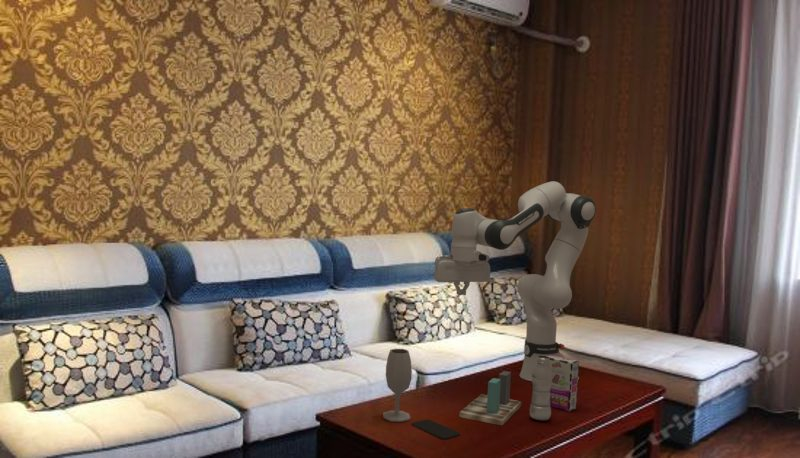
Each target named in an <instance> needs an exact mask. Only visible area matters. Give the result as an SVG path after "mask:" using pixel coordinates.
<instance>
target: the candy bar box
mask: <svg viewBox="0 0 800 458" xmlns="http://www.w3.org/2000/svg"><path fill="white" fill-rule="evenodd" d="M547 356H548V357H549V358H550V359H549V362H550V363H549V364H548V365H549V367H550V368H551V370H552V373H553V378H552V383H551V390H550V406H551V408H554V409H559V410H562V411H565V412H567V413H568V412H572V411H574V410H576V409H577V401H578V400H577V399H578V398H577V397H578V382H579V381H578V377H579V366H580V360H577V359H572V358H567V357H566V358H564V357H559V356H555V355H547Z"/></svg>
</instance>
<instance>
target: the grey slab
mask: <svg viewBox="0 0 800 458" xmlns="http://www.w3.org/2000/svg"><path fill="white" fill-rule="evenodd" d="M511 378H512V372H511V371H507V370H503V371H502V372H500V373H499V374H498V379H501V386H500V403H499V404H502V405H506V404H508V403H509V399H511V398H510V396H511Z"/></svg>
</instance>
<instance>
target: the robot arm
mask: <svg viewBox="0 0 800 458" xmlns="http://www.w3.org/2000/svg"><path fill="white" fill-rule="evenodd" d="M517 207H518V209H517V210H518V212H519V213H517V214H516V215H514V216H512V217H511V218H509V219H492V218H487V217H485V216H483V215H482V214H480V212H478V210H476V208H472V207H471V208H470V207H469V208H460V209H458V210H456V211H455V212H454V214H453V218H452V222H451V223H452V225H451V237H452V238H451V239H452V240H451V244H450V254H446V255H444V254H443V255H442V254H440V255H438V256H437V257H436V258H435V261H434V266H435V267H434V274H433V280H434V281H435V282H437V283H453V285H454V287H455V290H456V293H455V294H456V295H458V296H462V295H463V296H464V295H465V296H466V295H467V290H468V289H469V286H470V284H471V283H484V282H485V283H487V282H489V280H490V279H491V265H490V263H489V261H490V256H489V255H488V254H486V253H483V252H481V251H478V250H477V245H480V246H484V247H489V248H493V249H496V250H499V251H502V250H506V249H508V248H509V247H511V245H513V243H514V242H515V241H516V239H517V238H519V237H520V236H521V235H522V234H523V233H525V232H526V231H527V230H529V229H530V228H531V227H533V226H535V225H536V224H537V223H538V222H540V221H541V220H542V219H543V218H544V217H545V216H546V217H547V218H549V219H551V220H554V221H558V222H560V225H561V226H560V229H559V231H558V232H557V234H556V236H555V237H554V238H553V239H554V240H553V241H552V243H551V245H550V247H549V249H548V250H547V252H546V254H545V257H544V260H545V263H546V270H545V273H544V275H541V274H537V273H530V274H525V275H523V276H522V277H521V278H520V279H519V280H518V281H517V292H518V294H519V296H520V297H521V300H522V302H523V303H522V304H523V307H524V310H525V315H526V316H525V317H526V333H525V334H526V336H525V340H524V346H523V347H524V348H523V353H524V357H523V361H522V362H523V363H522V366H521V370H520V373H519V377H520V378H521V379H522V380H525V381H529V382H532V370H533V368H534V367H535V366H536V365H537V364H538V363H537V357H538V356H547V355H555V356H559V357H564V358H567V357H566V356H565V355H564V354H563V353H561V352H560V350H564V349H565V345H564V344H562V343H558V342H557V325H558V324H557V319H556V318H555V316H554V315H553V313H552V309H563V308H564V309H565V308H566V307H567V306H569V304H570V302H571V301H572V298H573V291H572V288H571V284H570V283H571V281H570V280H571V275H572V272H573V269H574V267H575V265H576V263H577V261H578V259H579V257H580V255H581V253H582V251H583V249H584V246H585V244H586V241H587V238H588V235H589V228H588V227H589V225H591V223H592V222H593V220H594V218H595V216H596V212H597V211H596V210H597V206H596V204H595V201H594V200H593V199H592V198H590V197H589V196H586V195H582V194H581V195H580V194H576V193H571V192H570V193H567V192H566V189H565V187H564V186H563V185H562V183H560V182H558V181H554V180H553V181H552V180H551V181H548V182H545V183H542V184H539V185H536V186H535V187H533V188H531V189H529V190H527V191H525V192H524V193H523V194H522V195H521V196H520V197H519V198H518V202H517ZM461 283H463V285H464V286H463V288H460V285H461ZM578 380H580V377H579V376H578Z"/></svg>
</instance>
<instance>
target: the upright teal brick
mask: <svg viewBox="0 0 800 458" xmlns="http://www.w3.org/2000/svg"><path fill="white" fill-rule="evenodd" d="M500 386H501V379H499V378H496V377H495V378H494V377H493V378H491V379H490V380H489V381H487V395H488V397H487V412H488V413H493V414H496V413H497V412H498V411H499V403H500Z"/></svg>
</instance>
